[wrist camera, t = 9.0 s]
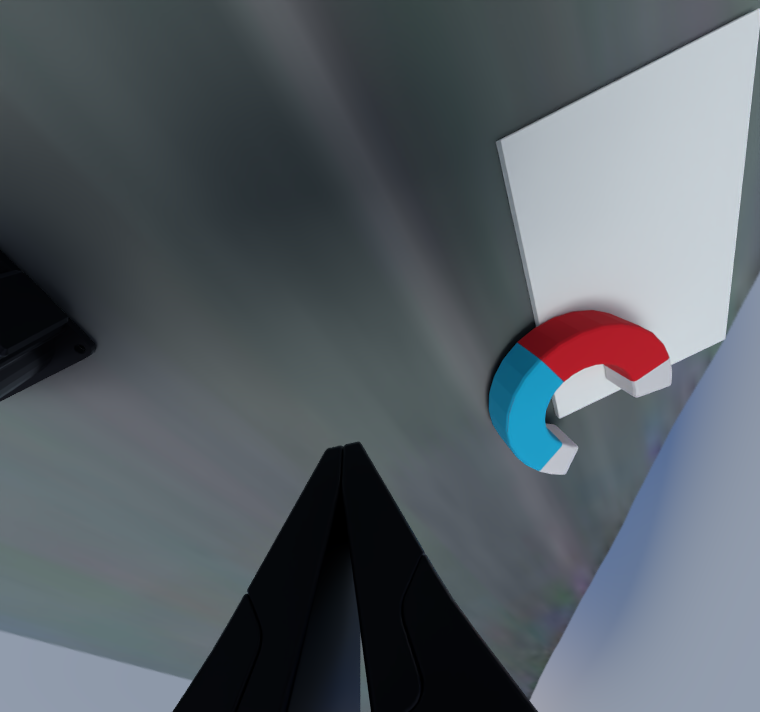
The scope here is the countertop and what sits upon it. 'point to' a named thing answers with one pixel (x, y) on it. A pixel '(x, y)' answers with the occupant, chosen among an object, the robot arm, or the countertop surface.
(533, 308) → the white paper sheet
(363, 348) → the countertop surface
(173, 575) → the countertop surface
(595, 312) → the magnet
